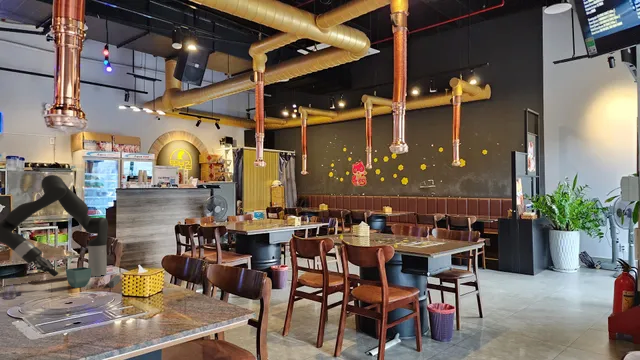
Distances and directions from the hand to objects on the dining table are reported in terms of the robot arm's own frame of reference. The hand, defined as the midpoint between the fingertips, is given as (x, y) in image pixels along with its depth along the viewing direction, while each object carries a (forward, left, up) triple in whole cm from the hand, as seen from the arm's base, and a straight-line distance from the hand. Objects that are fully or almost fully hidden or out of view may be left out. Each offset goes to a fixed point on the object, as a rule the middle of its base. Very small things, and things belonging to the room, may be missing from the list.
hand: (56, 275), depth 205 cm
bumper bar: (+9, +25, -7) cm, 27 cm away
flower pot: (+3, +9, -7) cm, 12 cm away
